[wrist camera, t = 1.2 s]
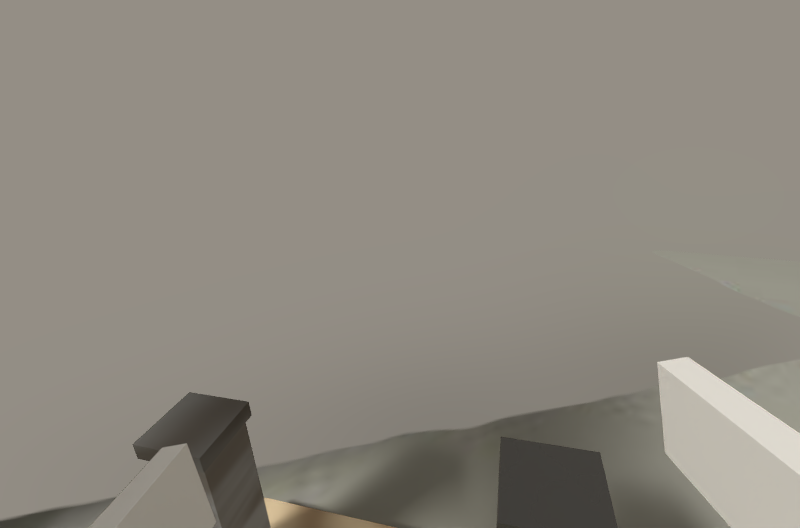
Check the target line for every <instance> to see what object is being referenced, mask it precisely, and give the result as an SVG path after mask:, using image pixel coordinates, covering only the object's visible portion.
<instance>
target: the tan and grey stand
mask: <svg viewBox="0 0 800 528" xmlns="http://www.w3.org/2000/svg"><path fill="white" fill-rule="evenodd" d="M250 416H251V411H250V407H249V402H246V401H240V400H233V399H227V398H221V397H215V396H209V395H203V394H197V393H191V392H190V393H188V394H187V395H186V396H185V397H184V398H183V399H182V400H181V401H180V402H178V403H177V404H176V405H175V406H174V407H173V408H172V409H171V410H170V411H169V412H168V413H166V414H165V415H164V416H163V417H162V418H161V419H160V420H159V421H158V422H157V423H156V424H155V425H153V426H152V427H151V428H150V429H149V430H148V431H147V432H146V433H145V434H144V435H143V436H141V438H139V439H138V440H137V441H136V442H135V443H134V444H133V447H134V449H135V452H136V454H137V457H138V459H143V460H147V461H150V460H151V459H152V458H153V457H154V456H155V455H156V454H157V453H158V451H159V450H160V449H161V448H162V447H168V446H174V445H180V444H186V443H187V445H188V448H189V451H190V453H191V456H192V459H193V461H194V464H195V467H196V469H197V472H198V475H199V477H200V480H201V483H202V485H203V488H204V491H205V493H206V496H207V499H208V501H209V504H210V507H211V509H212V512H213V515H214V517H215V520H216V523H215V525H214V527H213V528H396V527H392V526H387V525H383V524H378V523H374V522H370V521H365V520H361V519H357V518H352V517H348V516H343V515H339V514H335V513H330V512H326V511H321V510H317V509H313V508H308V507H304V506H299V505H295V504H291V503H286V502H282V501H278V500H273V499H269V498H264V497H263V493H262V489H261V485H260V481H259V477H258V473H257V468H256V465H255V460H254V456H253V452H252V448H251V444H250V440H249V436H248V431H247V427H246V423H245V422H246V421H247V420H248V419H249V418H250Z"/></svg>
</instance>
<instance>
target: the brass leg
mask: <svg viewBox="0 0 800 528" xmlns="http://www.w3.org/2000/svg"><path fill="white" fill-rule="evenodd" d="M497 528H617V524H616V520H615V515H614V511H613V507H612V502H611V498H610V494H609V490H608V485H607V481H606V477H605V473H604V468H603V464H602V460H601V455H600V453H599V452H593V451H587V450H580V449H574V448H568V447H562V446H555V445H549V444H543V443H536V442H530V441H524V440H517V439H511V438H505V437H501V444H500V464H499V486H498V509H497Z"/></svg>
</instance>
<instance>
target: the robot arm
mask: <svg viewBox="0 0 800 528" xmlns="http://www.w3.org/2000/svg"><path fill="white" fill-rule="evenodd" d="M657 366H658V377H659V389H660V401H661V412H662V424H663V435H664V447H665V453H666V455H667V456H668V457H669V458H670V459H671V460H672V461H673V462H674V464H675V465H676V466H677V467H678V468H679V469H680V470H681V472H682V473H683V474H684V475H685V476H686V477H687V478H688V479H689V481H690V482H691V483H692V484H693V485H694V486H695V487H696V489H697V490H698V491H699V492H700V493H701V494H702V495H703V496H704V498H705V499H706V500H707V501H708V502H709V503H710V504H711V506H712V507H713V508H714V509H715V510H716V511H717V512H718V513H719V515H720V516H721V517H722V518H723V519H724V520H725V521H726V522H727V524H728V525H729V526H730V527H731V528H800V433H798V432H797V431H795V430H794V429H792V428H791V427H789V426H788V425H786V424H785V423H784V422H782V421H781V420H779V419H778V418H776V417H775V416H773V415H772V414H770V413H769V412H767V411H766V410H765V409H763V408H762V407H760V406H759V405H757V404H756V403H754V402H753V401H751V400H750V399H748V398H747V397H746V396H744V395H743V394H741V393H740V392H738V391H737V390H735V389H734V388H732V387H731V386H729V385H728V384H727V383H725V382H724V381H722V380H721V379H719V378H718V377H716V376H715V375H713V374H712V373H710V372H709V371H708V370H706V369H705V368H703V367H701V366H700V365H699V364H697V363H696V362H694V361H693V360H691V359H690V358H689V357H685V358H679V359H673V360H667V361H661V362H657ZM215 523H216V520H215V517H214V515H213V512H212V509H211V507H210V504H209V501H208V499H207V496H206V493H205V491H204V488H203V485H202V483H201V480H200V477H199V475H198V472H197V469H196V467H195V464H194V461H193V459H192V456H191V453H190V451H189V448H188V445H187V443H186V444H180V445H174V446H168V447H162V448H161V449H160V450H159V451H158V453H157V454H156V455H155V456H154V457H153V458H152V459H151V460H150V461H149V462H148V463H147V465H146V466H145V467H144V468H143V469H142V470H141V471H140V472H139V473H138V475H136V477H135V478H134V479H133V480H132V481H131V482H130V483H129V484H128V485H127V487H125V489H124V490H123V491H122V492H121V493H120V494H119V495H118V496H117V497H116V498H115V499H114V500H113V502H112V503H111V504H110V505H109V506H108V507H107V508H106V509H105V510H104V511H103V512H102V514H101V515H100V516H99V517H98V518H97V519H96V520H95V521H94V522H93V523H92V524H91V526H90V527H89V528H213V527H214V525H215Z"/></svg>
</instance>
